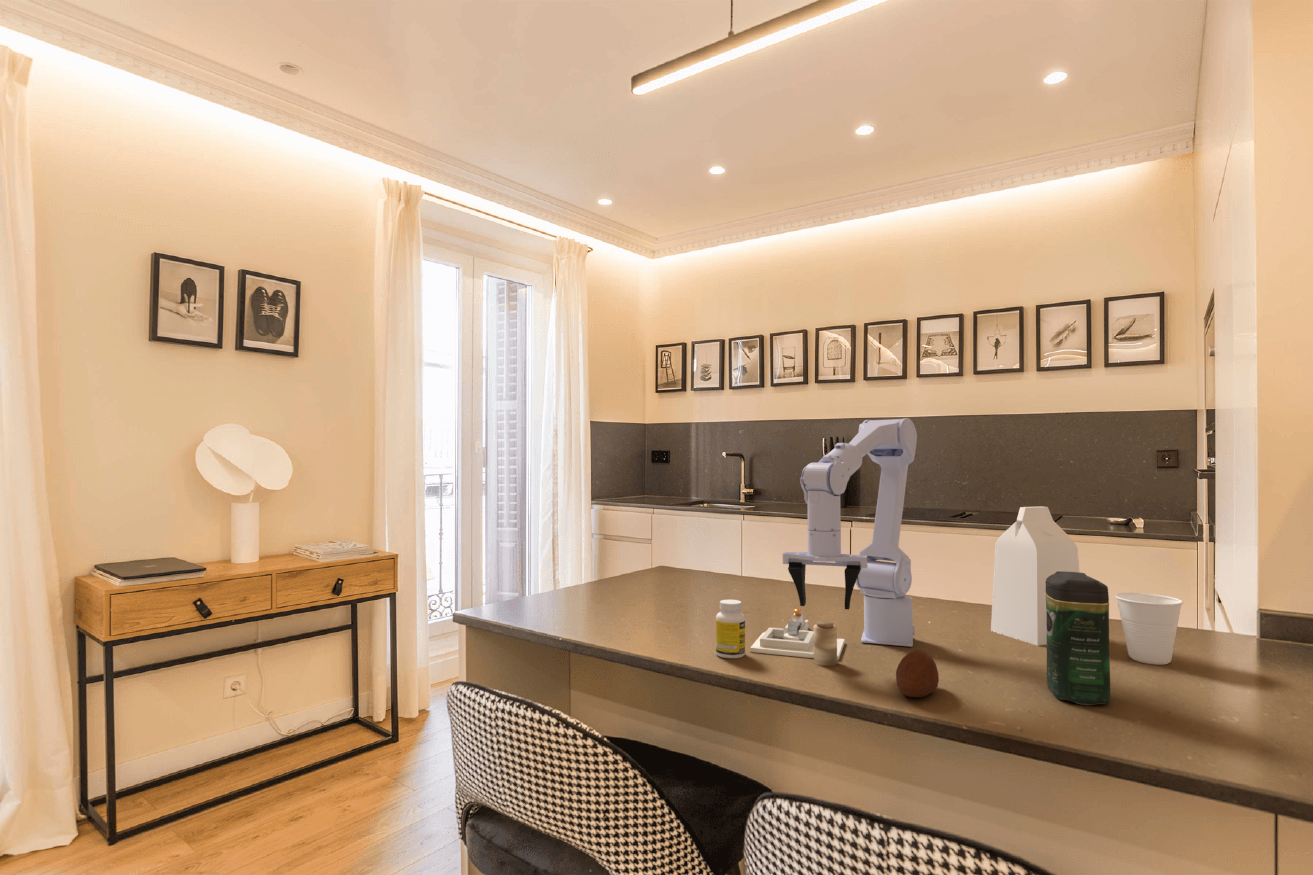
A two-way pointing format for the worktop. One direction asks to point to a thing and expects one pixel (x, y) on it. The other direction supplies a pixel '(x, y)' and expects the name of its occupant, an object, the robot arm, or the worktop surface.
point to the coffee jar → (1078, 638)
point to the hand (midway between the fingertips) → (824, 606)
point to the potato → (917, 674)
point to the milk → (1028, 573)
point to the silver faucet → (795, 622)
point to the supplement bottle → (730, 630)
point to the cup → (1149, 625)
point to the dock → (789, 642)
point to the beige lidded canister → (825, 644)
